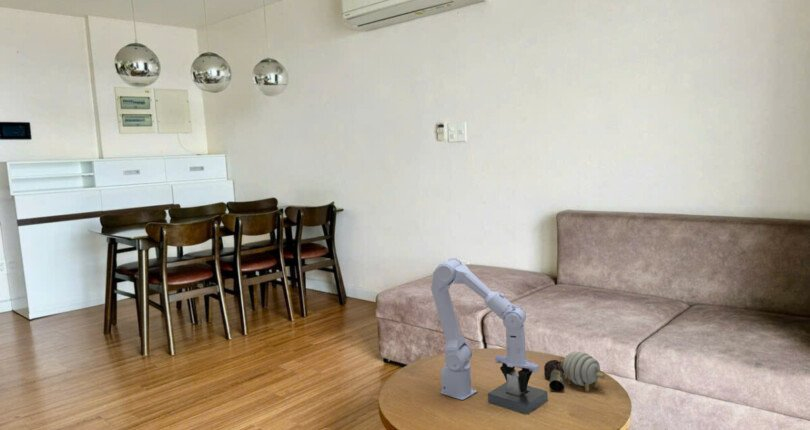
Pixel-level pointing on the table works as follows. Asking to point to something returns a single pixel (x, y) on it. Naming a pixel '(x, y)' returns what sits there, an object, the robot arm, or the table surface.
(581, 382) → the toy sheep
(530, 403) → the grey slab with hole
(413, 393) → the table surface
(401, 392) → the table surface
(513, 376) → the grey wooden block
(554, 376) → the tube with rough end
